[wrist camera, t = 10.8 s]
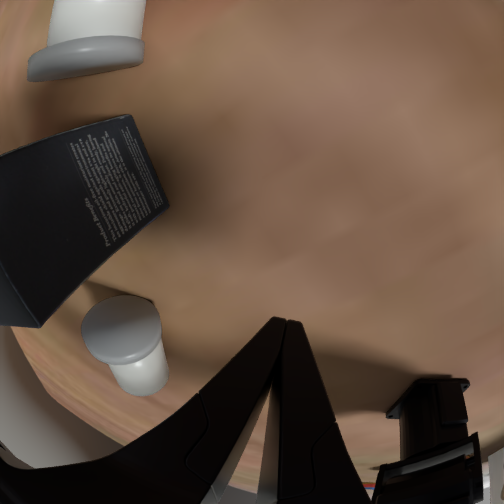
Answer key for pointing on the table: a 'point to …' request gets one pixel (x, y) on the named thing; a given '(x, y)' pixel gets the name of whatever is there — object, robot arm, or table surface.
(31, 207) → the small box
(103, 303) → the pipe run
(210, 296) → the table surface
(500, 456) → the gable box
